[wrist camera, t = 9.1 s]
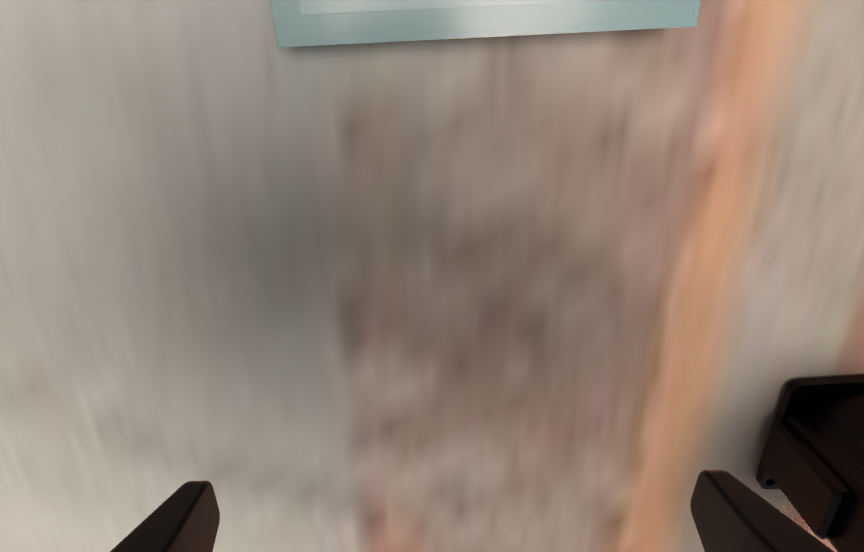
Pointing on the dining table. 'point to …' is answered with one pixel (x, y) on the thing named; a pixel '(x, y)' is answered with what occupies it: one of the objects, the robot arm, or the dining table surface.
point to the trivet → (465, 18)
